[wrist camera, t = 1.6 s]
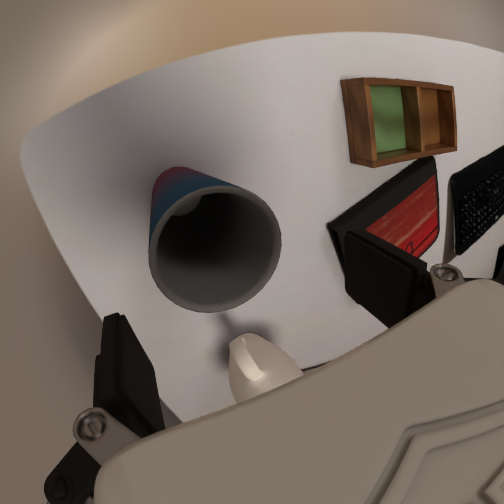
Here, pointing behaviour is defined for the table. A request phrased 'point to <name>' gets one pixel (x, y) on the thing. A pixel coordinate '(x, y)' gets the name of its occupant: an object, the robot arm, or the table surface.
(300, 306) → the table surface
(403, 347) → the robot arm
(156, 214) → the cup
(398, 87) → the wooden compartment tray
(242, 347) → the mug
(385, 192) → the binder
